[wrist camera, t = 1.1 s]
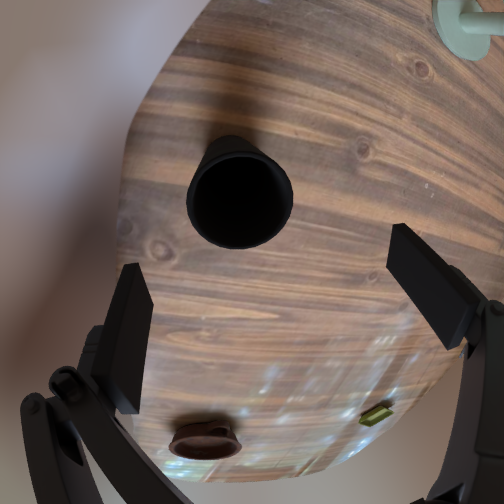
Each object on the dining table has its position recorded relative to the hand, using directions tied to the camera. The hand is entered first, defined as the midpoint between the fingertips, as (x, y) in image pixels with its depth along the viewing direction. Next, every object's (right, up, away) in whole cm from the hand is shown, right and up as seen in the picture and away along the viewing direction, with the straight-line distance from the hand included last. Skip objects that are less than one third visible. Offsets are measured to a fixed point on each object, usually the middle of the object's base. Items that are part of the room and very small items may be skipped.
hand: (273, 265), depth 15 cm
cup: (-3, +10, +17) cm, 20 cm away
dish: (-13, -44, +49) cm, 67 cm away
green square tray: (+33, -45, +57) cm, 80 cm away
